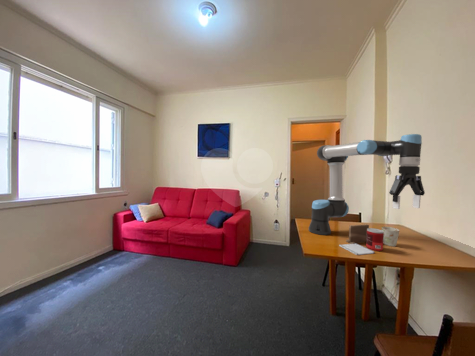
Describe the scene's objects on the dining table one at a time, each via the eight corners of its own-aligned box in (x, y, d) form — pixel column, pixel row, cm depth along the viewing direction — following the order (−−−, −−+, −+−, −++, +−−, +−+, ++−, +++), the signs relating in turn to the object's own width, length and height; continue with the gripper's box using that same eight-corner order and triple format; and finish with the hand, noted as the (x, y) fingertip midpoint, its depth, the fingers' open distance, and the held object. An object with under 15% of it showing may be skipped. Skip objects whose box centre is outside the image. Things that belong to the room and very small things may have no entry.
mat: (339, 245, 107) (339, 244, 107) (355, 244, 110) (355, 243, 110) (356, 255, 96) (356, 253, 96) (374, 253, 98) (374, 251, 98)
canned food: (385, 249, 104) (386, 230, 103) (379, 252, 99) (380, 233, 99) (369, 244, 110) (370, 227, 110) (363, 247, 106) (364, 229, 105)
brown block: (346, 241, 114) (346, 224, 114) (363, 240, 118) (364, 223, 117) (352, 244, 110) (353, 227, 109) (370, 243, 113) (371, 225, 113)
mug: (402, 247, 107) (402, 231, 106) (378, 245, 109) (378, 229, 109) (392, 242, 115) (393, 227, 114) (370, 240, 117) (371, 225, 117)
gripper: (398, 165, 83) (395, 210, 84) (436, 166, 89) (433, 209, 90) (381, 165, 90) (379, 207, 91) (418, 166, 96) (415, 206, 97)
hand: (406, 208), depth 90 cm, fingers open, 13 cm apart
